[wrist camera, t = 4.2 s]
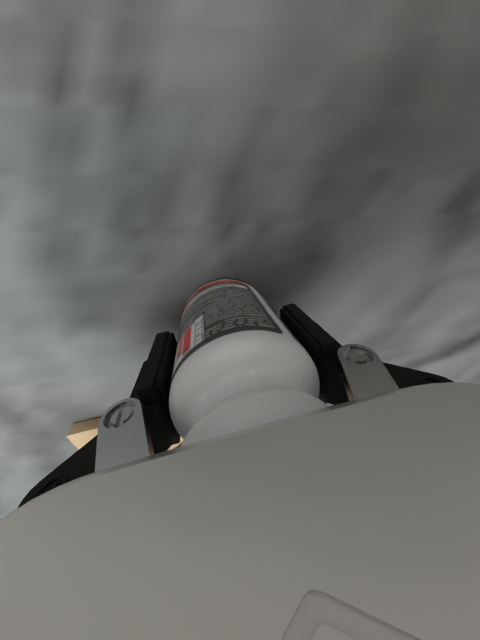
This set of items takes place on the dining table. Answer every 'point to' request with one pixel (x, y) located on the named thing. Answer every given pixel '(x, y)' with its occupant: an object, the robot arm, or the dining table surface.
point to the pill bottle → (237, 365)
